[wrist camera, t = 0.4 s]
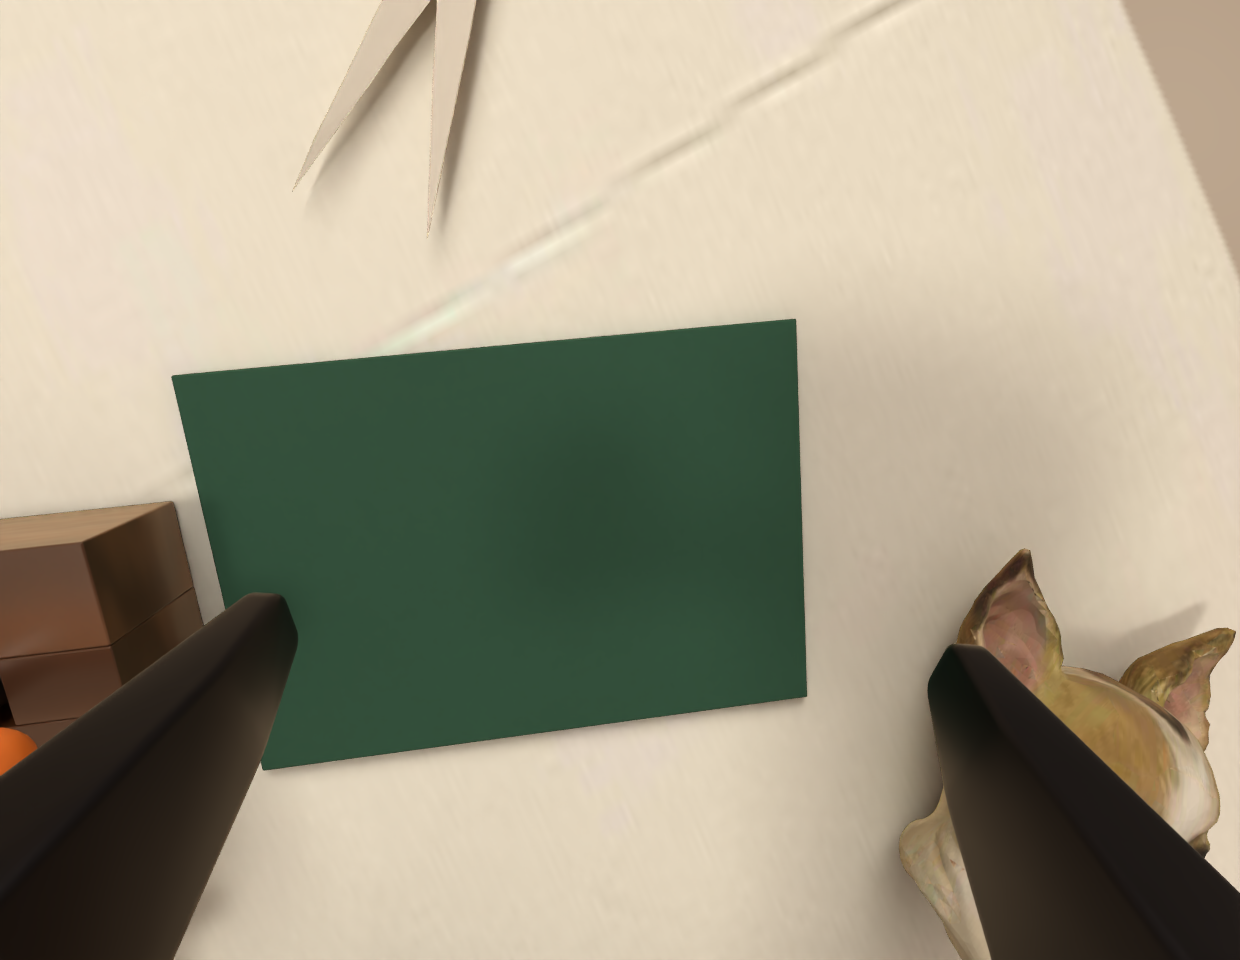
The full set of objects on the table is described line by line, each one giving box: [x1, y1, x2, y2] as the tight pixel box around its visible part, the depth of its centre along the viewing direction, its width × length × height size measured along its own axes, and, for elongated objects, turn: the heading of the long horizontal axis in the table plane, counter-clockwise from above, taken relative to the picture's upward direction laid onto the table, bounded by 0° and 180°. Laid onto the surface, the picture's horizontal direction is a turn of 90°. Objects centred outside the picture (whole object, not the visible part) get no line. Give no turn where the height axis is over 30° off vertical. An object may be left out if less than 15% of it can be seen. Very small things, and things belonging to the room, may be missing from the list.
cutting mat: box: [172, 319, 807, 770], centre depth 24 cm, size 14×20×1 cm
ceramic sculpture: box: [899, 548, 1236, 960], centre depth 23 cm, size 11×9×15 cm
